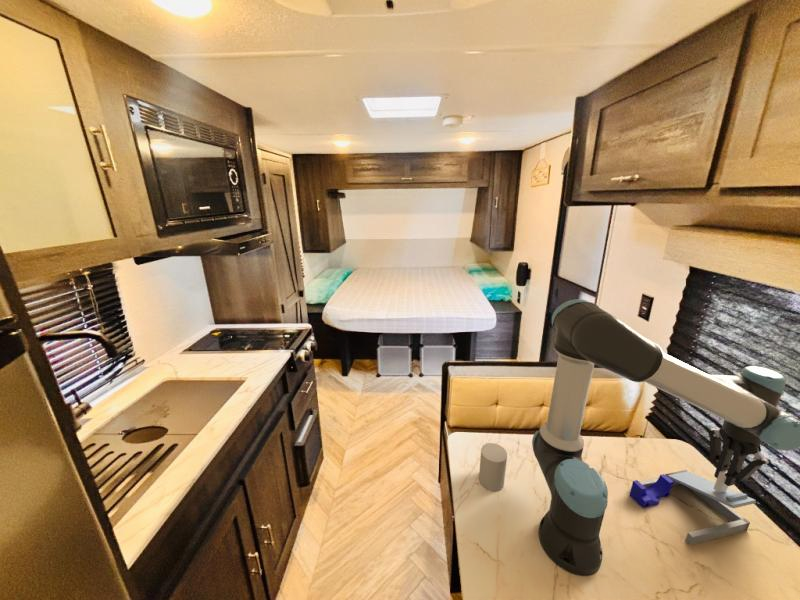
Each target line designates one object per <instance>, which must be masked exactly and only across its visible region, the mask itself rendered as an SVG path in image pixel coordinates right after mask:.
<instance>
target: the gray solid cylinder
mask: <svg viewBox="0 0 800 600" xmlns="http://www.w3.org/2000/svg"><path fill="white" fill-rule="evenodd" d="M480 450H481V451H480V461H479V462H480V463H479V472H478V481H479V484H480V486H482V488H483V489H485V490H486V491H489V492H492V493H495V492H496V493H497V492H500V491H502V490H503V489H504V486H505V478H506V470H507V461H508V460H507V459H508V452H507V450H506V449H505V448H504V447H503V446H501V445H500V444H498V443H495V442H487V443H485V444H483V445H482V447H481V449H480Z"/></svg>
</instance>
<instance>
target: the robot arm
mask: <svg viewBox="0 0 800 600" xmlns="http://www.w3.org/2000/svg"><path fill="white" fill-rule="evenodd" d="M551 325H552V329H553V330H554V331H555V337H554V342H553V343H554V344H553V349H554V351H555V353H557V354H558V358H557V363H556V369H555V376H554V380H553V381H554V382H553V387H552V393H551V397H550V405H549V409H548V416H547V421H546V423H543V424H542V425H541V426H540V427H539V430H536V431H535V432H534V434H533V436H532V440H531V444H532V450H533V454H534V457H535V459H536V461H537V462H538V465H539V468H540V470H541V473H542V475H543V477H544V479H545V482H546V484H547V487H548V490H549V493H550V495H551V497H550V498H551V499H550V505H549V509H548V510H547V512H546V513H545V514H544V516H543V517H542V518H541V519H540V523H539V524H538V525H539V526H538V533H537V534H538V539H539V544H540V545H541V547H542V549H543V551H544V553H545V554H546V556H547V557H548V558H549V559H550V560H551V561H552V562H553V563H555V565H557V566H558V567H559V568H561V569H562V570H564V571H566V572H568V573H570V574H573V575H575V576H579V577H580V576H581V577H588V576H592V575H595V574H596V573H597V572H598V571H599V570H600V568H601V566H602V562H603V557H604V555H603V554H604V553H603V547H602V545H601V542H602V541H601V539H600V531H601V528H602V525H603V524H602V523H603V520H604V516H605V512H606V509H607V507H608V497H609V496H608V495H609V490H608V486H607V484H606V481H605V480H604V478H603V477H602V474H600V473H599V471H598V470H597V469H595V468H594V467H591V466H590V464H588V463H587V462H585V461H584V460H583V457H582V456H583V450H584V447H585V441H584V438H583V436H582V435H581V429H582V424H583V422H584V421H583V420H584V416H585V411H586V407H587V406H586V405H587V401H588V396H589V392H590V388H591V384H592V383H591V382H592V378H593V372H594V369H595V365H597V366H598V367H601V368H603V369H606V370H607V371H610V372H612V373H614V374H616V375H618V376H621V377H623V378H625V379H627V380H629V381H631V382H635V383H642V382H643V383H647V384H648V385H650V386H652V387H654V388H656V389H658V390H661V391H663V392H665V393H667V394H669V395H672V396H673V397H676V398H678V399H679V400H682V401H684V402H685V403H688V404H690V405H692V406H694V407H696V408H698V409H700V410H703V411H705V412H707V413H709V414H711V415H713V416H715V417H718V418H719V419H722V420H723V423H722V425H721V428H716V427H715V428H710V429H709V428H708V429H707V434H708V436H709V462H710V463H711V464H714V466H715V467H716V469H715V471H714V477H715V478H716V481H715V482H714V483H715V486H714V488H713V489H714V490H716V491H717V492H718V493H721V492H725V491H726V490H727V488H728V487H731V486H734V484H735V482H736V480H737V481H739V482H741V481H744V480H748V479H749V478H750V477H751V476H752V475H753V474H754V473H756V471H758V470H759V469H761V467H762V466H763V465H767V464H771V463H772V461H771V459H770V458H769V457H765V456H764V455H763V454H762V447H761V445H762V443H765V444H767V445H768V446H770V447H771V448H773V449H776V450H778V451H783V452H784V451H785V452H788V451H795V450H797V449H800V420H799V419H797V418H795V416H794V415H792V414H789V413H787V412H785V411H784V410H782V409H780V408H778V407H777V406H778V404H779V403H780V400H781V398H782V396H783V394H784V393H785V391H784V390H785V387H786V383H787V379H786V377H785V376H783V374H780V373H778V372H776V371H775V370H772V369H769V368H766V367H761V366H754V365H748V366H745V367H743V368H742V370H741V371H740V373H739V374H740V375H739V374H738V375H737V374H736V375H734V374H733V375H732V374H731V375H730V374H729V375H728V374H712V373H711V374H710V373H706V372H704V371H702V370H700V369H698V368H696V367H694V366H691V365H689V364H688V363H685V362H683V361H682V360H679V359H677V358H676V357H673V356H672V355H669V354H667V353H665V352H664V351H663V349H662V347H661V346H660V345H659V344H657V343H656V342H654V341H652V340H649V339H648V338H646V337H644V336H643V335H641V334H640V333H638V332H637V331H636V330H634V329H633V328H632V327H630V326H629V325H628V324H626V323H624V322H623V321H622V320H621V319H619V318H618V317H616V316H614V315H613V314H611V313H609V312H608V311H605V310H604V309H602V308H600V307H599V306H598V304H595V303H594V302H591V301H588V300H585V299H580V298H578V299H570V300H566V301H565V302H563V303H561V304H560V305H559V306H557V307H556V309H555V310H554V312H553V313H552V316H551ZM750 455H754V456H753V458H752V461H750V462H749V463H748V464H747V465H746V466H745V467H744V468H743V465H744V463H745V461H746V458H747V457H748V456H750ZM742 468H743V469H742Z"/></svg>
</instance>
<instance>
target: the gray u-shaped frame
mask: <svg viewBox="0 0 800 600" xmlns="http://www.w3.org/2000/svg"><path fill="white" fill-rule="evenodd" d="M658 479H659V477H655V478H651V479H646V480H640V481H639V482H640V483H641V484H642V485H643V486H644V487H645V488H648V487H650V486H652V485H653V484H654V483H655V482H656V481H657V480H658ZM671 480H672V479H671ZM672 481H673V486H674V485H676V486H677V485H679V484H680V483H678V482H676V481H674V480H672ZM687 488H688V489H690V490H691V491H692V492H694V493H695V494H696V495H697V496H698V497H700V498H701V499H702V500H704V501H705V502H706V503H707V504H708V505H710V506H711V507H712V508H713V509H715V510H716V511H717V512H719V514H721V515H722V516H724V517H725V518H726V519H728V521H729V522H725V523H723V524H718V525H713V526H710V527H706V528H705V527H704V528H702V529H698V530H694V531H690V532H687V535H686V537H685V543H687V544H688V545H689V546H693V545H696V544H700V543H704V542H708V541H711V540H715V539H720V538H723V537H727V536H732V535H734V534H739V533H742V532H747V531H748V528H749V526H750V524H751V522H750V521H749V520H747V519H746V518H745V517H744V516H742V515H741V514H740V513H738V512H737V511H736V510H734V508H731V507H729V506H727V505H725V504H723V503H721V502H719V501H716V500H714V499H712V498H710V497H708V496H706V495H704V494H702V493H699V492H697V491H695V490H693V489H691V488H689V487H687Z"/></svg>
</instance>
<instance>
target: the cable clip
mask: <svg viewBox="0 0 800 600" xmlns="http://www.w3.org/2000/svg"><path fill="white" fill-rule="evenodd" d="M665 474H666V473H663V474H660V475H659V477H658V478H659V479H658V480H657V481H656V482H655V483H654V484H653V485H652V486H650V487H648V488H645V487H644V486H643V485H642V484H641V483H640V481H638V479H635V480H633V481H632V484H631V487H630V491H629V497H630V498H631V499H632V500H633V501H634V502H636V503H637V505H638V506H640V507H641V508H642V509H645V508H646V509H647V508H650V507H653V506H658V505H660V500H659V499H664V498H667V497H670V494H671V491H672V488H673V486H674V485H673V481H672V480H671V479H670V478H668V477H667V476H666V475H665Z"/></svg>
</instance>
